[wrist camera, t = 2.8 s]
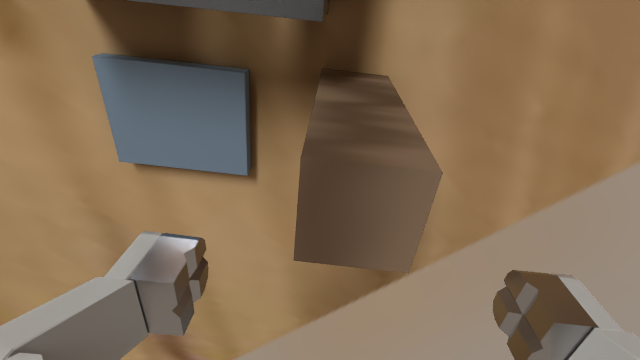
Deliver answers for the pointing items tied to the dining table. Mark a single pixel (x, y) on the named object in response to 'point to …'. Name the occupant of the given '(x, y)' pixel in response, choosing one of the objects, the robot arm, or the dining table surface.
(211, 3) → the guard
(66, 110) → the dining table surface
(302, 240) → the brown block
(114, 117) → the pad
